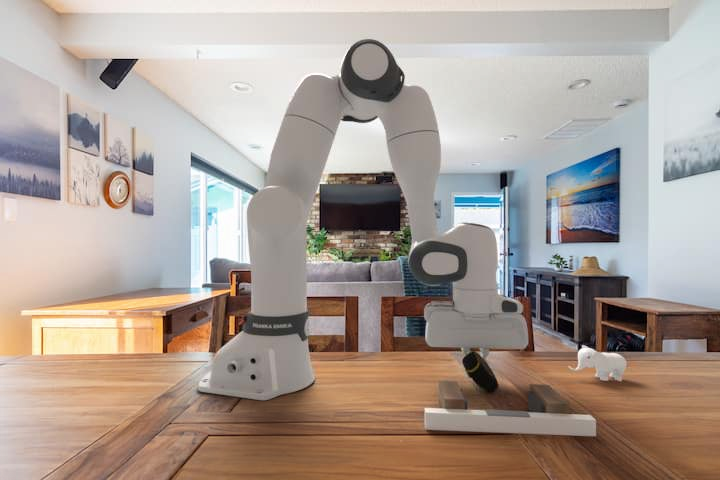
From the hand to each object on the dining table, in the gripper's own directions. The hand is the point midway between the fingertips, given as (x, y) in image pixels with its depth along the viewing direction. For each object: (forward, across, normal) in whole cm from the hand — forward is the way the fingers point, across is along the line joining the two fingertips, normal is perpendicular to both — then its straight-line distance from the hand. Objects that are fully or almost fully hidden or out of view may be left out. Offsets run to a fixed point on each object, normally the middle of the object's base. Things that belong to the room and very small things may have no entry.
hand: (475, 368), depth 75 cm
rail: (+2, 0, -16) cm, 16 cm away
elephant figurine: (+2, +25, +2) cm, 25 cm away
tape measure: (+2, 0, -5) cm, 5 cm away
